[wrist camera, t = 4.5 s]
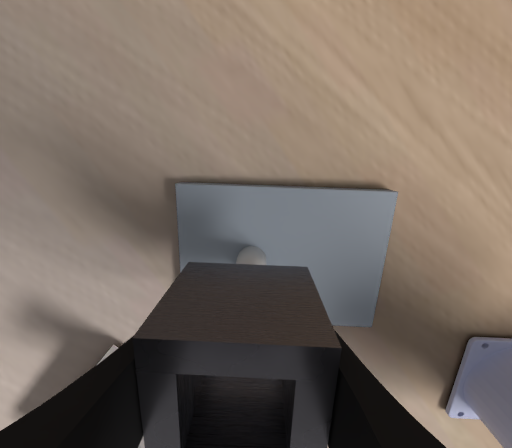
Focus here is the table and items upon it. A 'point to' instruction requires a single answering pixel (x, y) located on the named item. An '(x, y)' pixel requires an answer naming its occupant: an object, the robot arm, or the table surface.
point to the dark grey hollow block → (237, 360)
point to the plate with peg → (294, 236)
